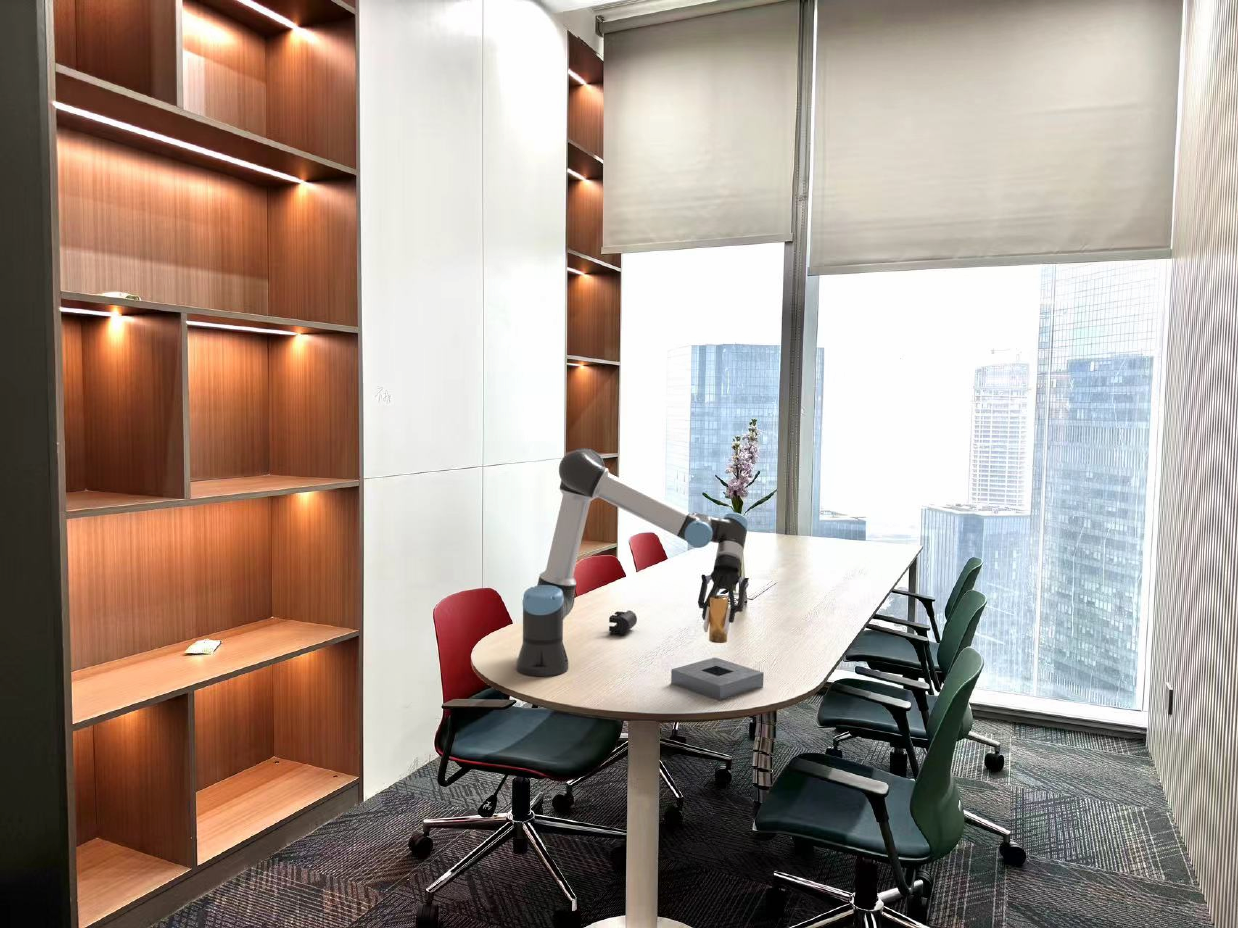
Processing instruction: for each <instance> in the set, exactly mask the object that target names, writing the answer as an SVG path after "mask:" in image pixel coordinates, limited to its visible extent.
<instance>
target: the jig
mask: <svg viewBox="0 0 1238 928" xmlns="http://www.w3.org/2000/svg"><path fill="white" fill-rule="evenodd" d="M670 672H671V673H670V684H672V685H674V686H677V687H680V688H683V689H686V690H688V691H691V692H695V693H697V694H699V695H701V696H705V697H708V698H710V699H713V700H717V701H719V702H721V701H724V700H727V699H729V698H730V699H731V698H732V697H733V698H734V697H736V696H738V695H742V694H745V693H748V692H752V691H754V690H757V689H760V688H763V687H764V672H763V671H760V670H756V669H754V668H750V667H747V666H744V665H741V664H737V663H734V662H731V661H728V660H724V659H721V658H719V657H711V658H707V659H704V660H703V659H702V660H701V661H696V662H694V663H690V664H686V665H682V666H678V667H675V668H671V671H670Z"/></svg>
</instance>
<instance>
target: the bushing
mask: <svg viewBox="0 0 1238 928" xmlns="http://www.w3.org/2000/svg"><path fill="white" fill-rule="evenodd" d="M728 608H729V596H728V597H727V596H723V595H716V596H711V597H710V616H709V627H708V641H709V642H710V643H715V644H724V643H725V644H726V643H728V634H725V632H724V625H725V620H726V614H727V609H728Z"/></svg>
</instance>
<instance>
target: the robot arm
mask: <svg viewBox="0 0 1238 928" xmlns="http://www.w3.org/2000/svg"><path fill="white" fill-rule="evenodd" d="M558 475H559V477H560V484H559V488H558V489H559V491H560V492H561V495H562V498H561V502H560V507H559V511H558V514H557V521H556V524H555V528H554V532H553V533H554V534H553V537H552V542H551V546H550V550H549V553H548V554H549V555H548V559H547V563H546V566H545V567H546V568H545V570H544V571H542V572H541V573H540V574H539V577H538V580H537V585H535V586H531V587H529V588H528V589H526V590H525V591H524V593H523V595H522V597H523V598H522V643H521V644H522V645H521V647H520V650H519V653H518V658H517V660H516V666H515V667H516V668H515V669H516V671H517V672H518V673H520V674H522V675H526V676H531V677H551V676H556V675H562V674H563V673H566V672H567V671H568V670H569V659H568V656H567V651H566V649H565V646H564V643H563V640H564V639H563V638H564V637H563V635H564V632H563V631H564V619H565V618H566V617H568V615H569V614H570V613H571V611H572V610H573V607H574V605H575V591H576V587H577V581H576V578H575V577H574V573H575V570H576V565H577V560H578V558H579V557H578V556H579V552H580V548H581V542H582V539H583V535H584V531H585V527H586V521H587V518H588V514H589V509H590V505H591V502H592V501H593V500H594V499H597V498H599V499H600V500H603V501H605V502H607V503H609V504H611V505H613V506H615V507H617V508H619V509H622V510H623V511H626V512H627V513H630V514H631V515H634V516H635V517H637V518H639V519H641V520H643V521H644V522H645V521H646V522H647V523H649V524H652V525H654V526H656V527H658V528H659V529H662V530H664V531H666V532H667V533H670V534H672V535H674V536H676V537H678V538H679V539H681V540H683V541H685V542H687V544H688V545H690V546H691V547H693V548H697V549H700V548H704V547H706V546H708V545H709V544H710V542H711V543H716V544H718V545H717V550H716V555H715V560H714V565H713V570H712V572H711V573H710V574H709V575H705V574H704V573H703V574H701V586H700V590H699V595H698V599H697V604H698V608H699V609H702V614H701V618H702V621H704V622H703V631H704V633H709V616H710V597H711V596H718V594H719V592H720V591H721V590H726V591H728V600H729V605H730V607H728V609H727V614H726V620H725V625H724V632H725V634H727V635H729V630H730V624H731V623H734V621H735V618H736V613H737V612H739V613H743V609H744V603H745V598H746V597H745V596H746V592H747V591H746V590H747V588H748V587H749V585H750V584H749V578H747V577H744V578H743V577H741V575H740V573H741V567H742V561H743V556H744V548H745V543H746V540H747V539H746V538H747V532H748V520H747V518H746V517H745V516H744V515H743V514H741V513H738V512H729V513H726V514H725V515H724V516H723V517H715V516H712V515H709V514H708V515H707V514H702V513H699V512H697V511H687V510H685V509H682V508H680V507H678V506H676V505H674V504H672V503H670V502H668V501H666V500H663V499H662V498H659V497H658V496H656V495H654V494H652V493H650V492H648V491H646V490H644V489H642V488H639V487H637V486H635V485H634V484H632V483H629V482H628V481H625V480H623V479H621V478H619V477H617V476H615V475H613V474H611V473H610V470H609V468H608V467H606V466H605V462H604V460H603V458H602V457H601V455H600V454H599V453H598V452H597V451H595V450H593V449H589V448H578V449H576V450H572V451H570V452H568V453H566V454H565V455H564V456H563V457H562V459H561V461H560V463H559V466H558ZM710 581H712V583H713V584H712V587H711V589H710V591H709V593H708V595H707V592H708V591H707V590H708V585H709V584H710ZM738 584H739V592H738V599H737V604H736V603H735V594H734V588H735V586H737V585H738ZM706 596H707V597H706Z"/></svg>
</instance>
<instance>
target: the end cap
mask: <svg viewBox="0 0 1238 928" xmlns="http://www.w3.org/2000/svg"><path fill="white" fill-rule="evenodd" d="M608 620H609V621H608V622H609V623H611V624H615V625H609V626H608V630H609V636H617V637H623V636H624V635H626V634H627V633H628V632H629V631H630V630H631V629H632V628H633V627H635V626H636V624H637V620H638V617H637V615H636V613H635V612H634V611H632V610H629V609H628V610H627V611H615V612H614V614H612V615H610V616H609V619H608Z"/></svg>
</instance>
